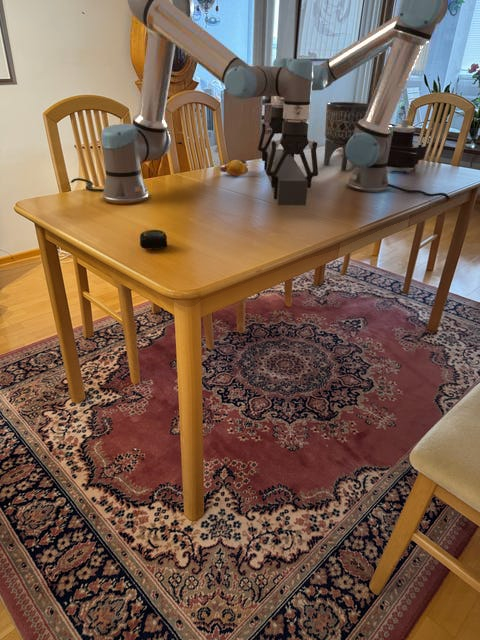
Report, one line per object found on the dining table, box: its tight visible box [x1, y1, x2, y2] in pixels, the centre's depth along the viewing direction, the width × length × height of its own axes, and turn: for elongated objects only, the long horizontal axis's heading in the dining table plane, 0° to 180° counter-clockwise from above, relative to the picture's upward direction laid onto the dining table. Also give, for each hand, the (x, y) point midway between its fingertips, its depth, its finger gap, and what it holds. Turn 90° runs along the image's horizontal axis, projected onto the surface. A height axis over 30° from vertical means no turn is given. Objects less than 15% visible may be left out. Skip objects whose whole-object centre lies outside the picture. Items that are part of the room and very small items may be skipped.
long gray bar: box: [266, 148, 308, 206], centre depth 159 cm, size 52×9×7 cm, turn 1°
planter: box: [323, 101, 370, 172], centre depth 204 cm, size 20×20×26 cm
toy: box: [219, 159, 249, 177], centre depth 192 cm, size 11×6×15 cm
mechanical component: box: [386, 119, 428, 174], centre depth 205 cm, size 22×21×30 cm
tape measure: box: [139, 229, 168, 250], centre depth 117 cm, size 7×7×4 cm
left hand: (289, 198), depth 143 cm, fingers closed on long gray bar, 9 cm apart
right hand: (277, 169), depth 178 cm, fingers closed on long gray bar, 9 cm apart
